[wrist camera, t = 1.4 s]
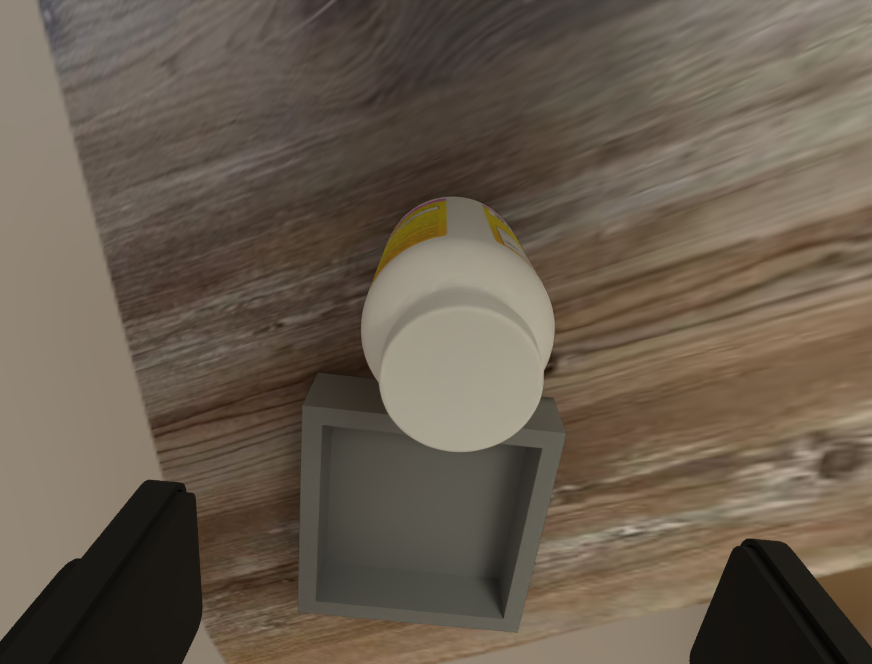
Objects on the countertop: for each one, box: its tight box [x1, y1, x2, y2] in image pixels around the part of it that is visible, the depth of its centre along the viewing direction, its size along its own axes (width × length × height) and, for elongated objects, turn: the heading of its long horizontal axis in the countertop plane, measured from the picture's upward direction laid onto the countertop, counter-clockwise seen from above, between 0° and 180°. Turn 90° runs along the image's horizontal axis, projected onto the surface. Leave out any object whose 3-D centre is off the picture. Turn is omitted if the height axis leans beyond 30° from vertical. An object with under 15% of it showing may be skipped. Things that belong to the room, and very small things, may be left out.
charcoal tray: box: [298, 373, 566, 633], centre depth 31 cm, size 14×13×4 cm
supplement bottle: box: [361, 197, 555, 452], centre depth 21 cm, size 7×7×13 cm
